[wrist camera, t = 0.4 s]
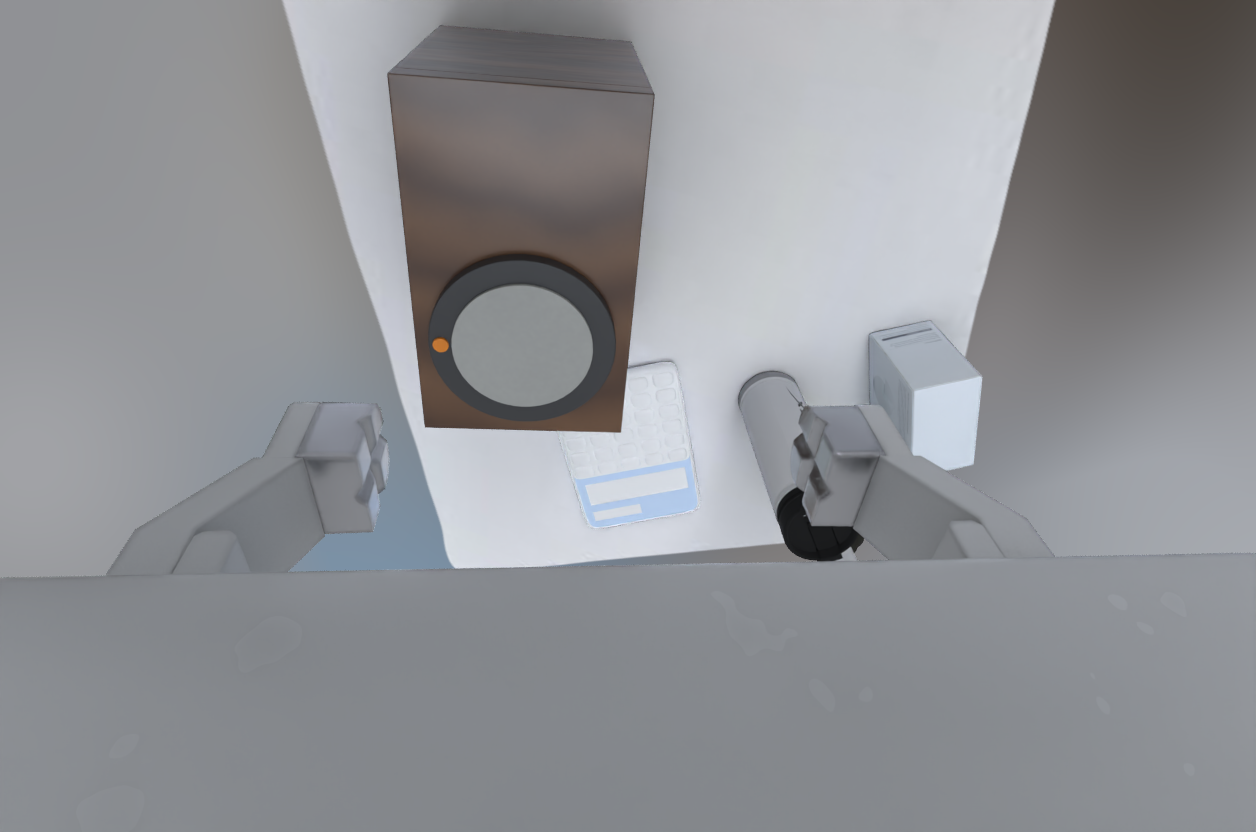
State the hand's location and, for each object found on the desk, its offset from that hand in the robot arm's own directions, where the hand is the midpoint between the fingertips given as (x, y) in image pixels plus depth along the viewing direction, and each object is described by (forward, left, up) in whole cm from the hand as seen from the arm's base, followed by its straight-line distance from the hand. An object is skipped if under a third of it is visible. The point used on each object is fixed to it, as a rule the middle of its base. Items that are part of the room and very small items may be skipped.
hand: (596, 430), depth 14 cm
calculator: (+38, +7, -48) cm, 61 cm away
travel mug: (+31, +21, -48) cm, 61 cm away
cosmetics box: (+27, +34, -48) cm, 65 cm away
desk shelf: (+11, -3, -48) cm, 49 cm away
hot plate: (+15, -3, -30) cm, 33 cm away
